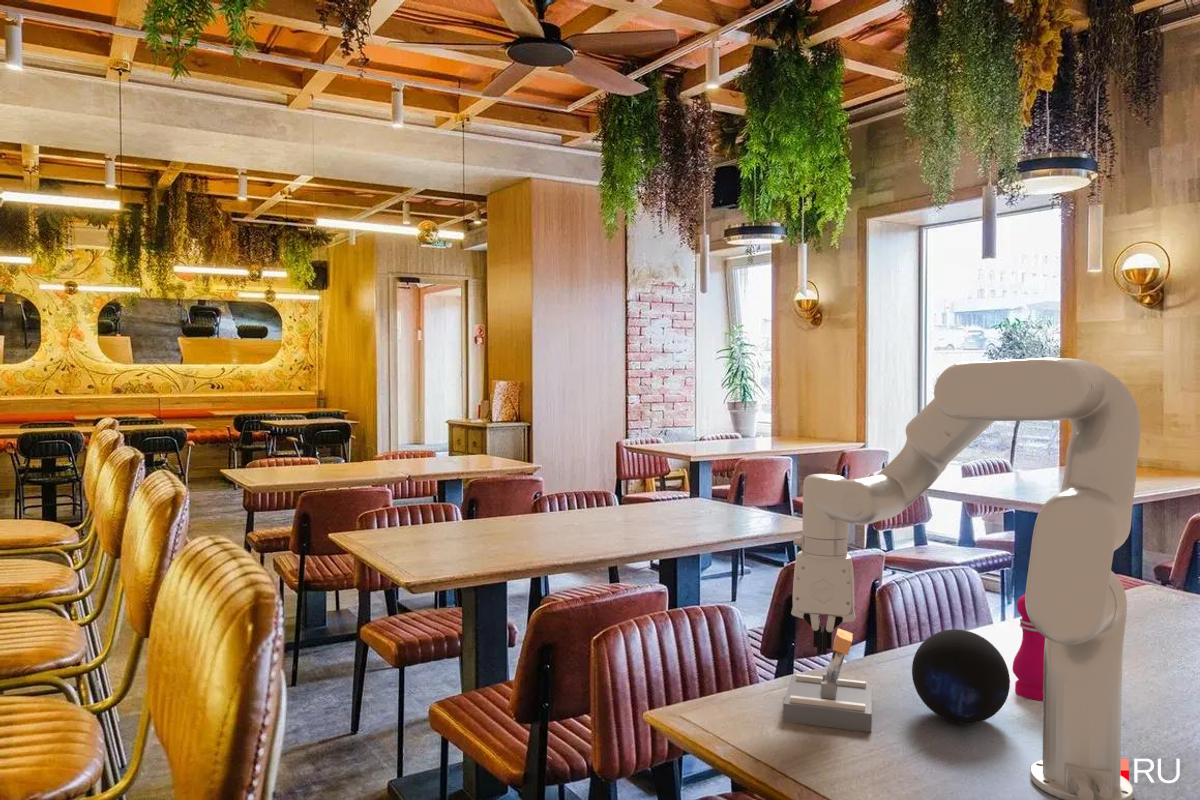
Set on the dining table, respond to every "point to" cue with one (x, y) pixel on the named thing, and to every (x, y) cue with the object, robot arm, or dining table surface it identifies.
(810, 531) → the robot arm
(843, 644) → the lever
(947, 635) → the decorative sphere
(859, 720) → the switch panel
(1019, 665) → the pepper mill
